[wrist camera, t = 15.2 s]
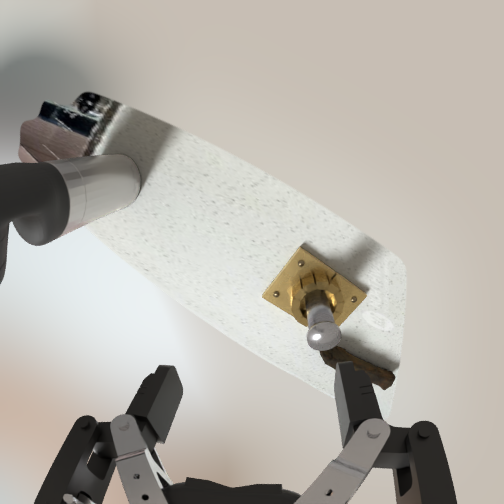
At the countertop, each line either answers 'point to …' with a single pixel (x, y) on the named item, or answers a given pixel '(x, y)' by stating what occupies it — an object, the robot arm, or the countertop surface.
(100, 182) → the robot arm
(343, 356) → the hand tool
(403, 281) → the countertop surface
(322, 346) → the hinge pin
